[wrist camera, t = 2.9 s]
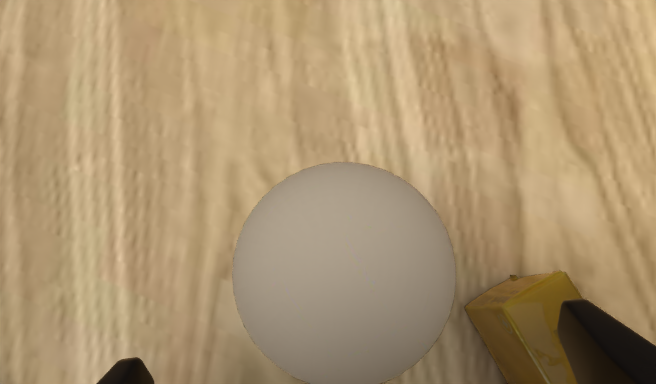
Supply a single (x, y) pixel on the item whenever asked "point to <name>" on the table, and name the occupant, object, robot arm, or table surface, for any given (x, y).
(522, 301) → the medication box
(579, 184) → the table surface
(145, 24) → the table surface
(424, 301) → the light bulb
